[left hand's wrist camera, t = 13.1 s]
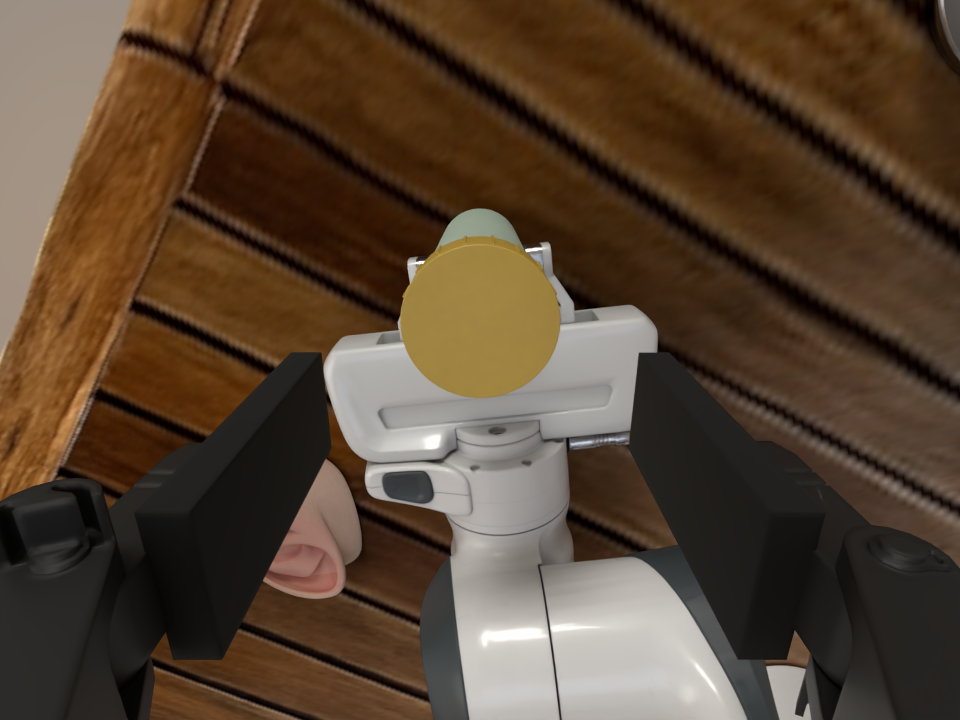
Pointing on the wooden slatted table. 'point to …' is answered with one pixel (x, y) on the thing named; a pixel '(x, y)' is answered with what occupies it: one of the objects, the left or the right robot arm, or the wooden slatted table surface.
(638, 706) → the right robot arm
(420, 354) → the lid
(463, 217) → the pale green bottle
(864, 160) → the wooden slatted table surface
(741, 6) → the wooden slatted table surface
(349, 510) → the anatomical model
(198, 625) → the left robot arm
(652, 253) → the wooden slatted table surface
